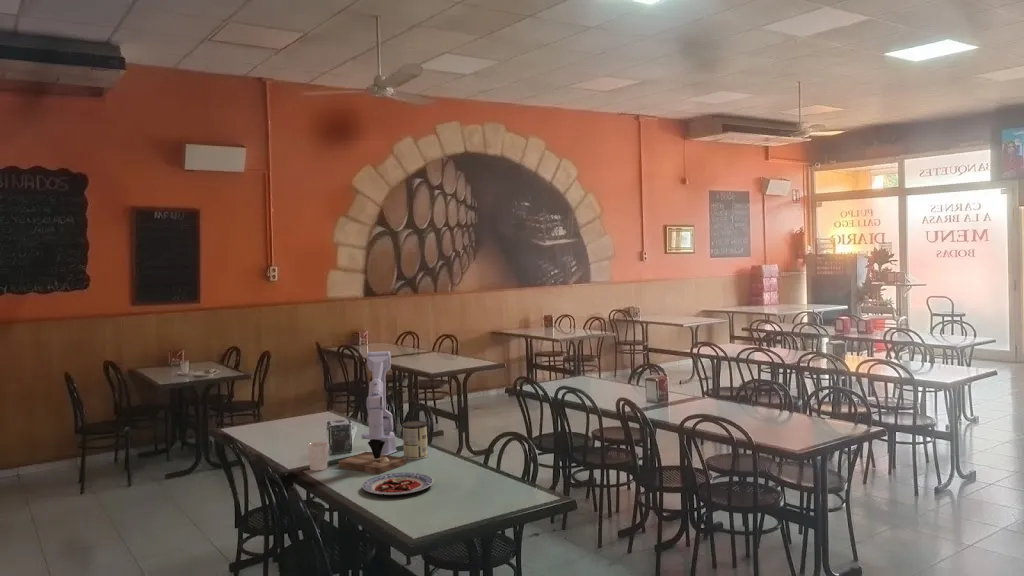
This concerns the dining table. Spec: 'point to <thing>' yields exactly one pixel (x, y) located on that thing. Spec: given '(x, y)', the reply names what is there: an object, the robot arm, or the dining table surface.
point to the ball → (384, 460)
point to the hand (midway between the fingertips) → (377, 458)
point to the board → (371, 463)
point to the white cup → (318, 455)
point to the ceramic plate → (397, 483)
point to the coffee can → (415, 440)
